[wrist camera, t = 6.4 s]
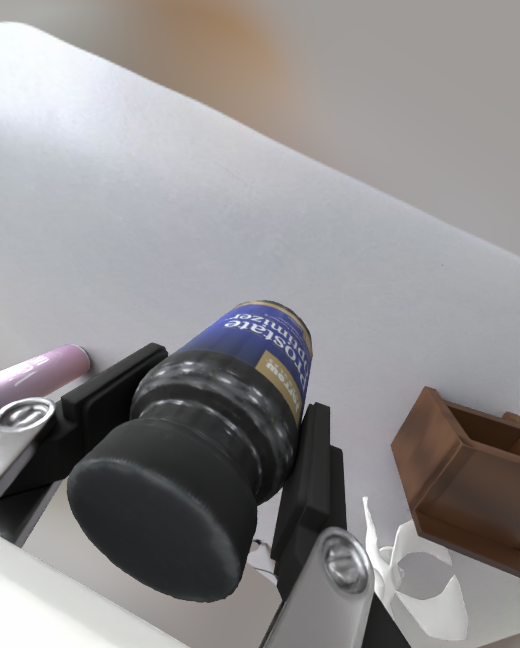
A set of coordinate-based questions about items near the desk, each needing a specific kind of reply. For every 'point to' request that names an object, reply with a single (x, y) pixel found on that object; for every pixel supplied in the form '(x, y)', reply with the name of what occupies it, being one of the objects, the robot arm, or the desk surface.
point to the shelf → (463, 479)
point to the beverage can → (43, 374)
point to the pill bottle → (199, 454)
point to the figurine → (431, 614)
